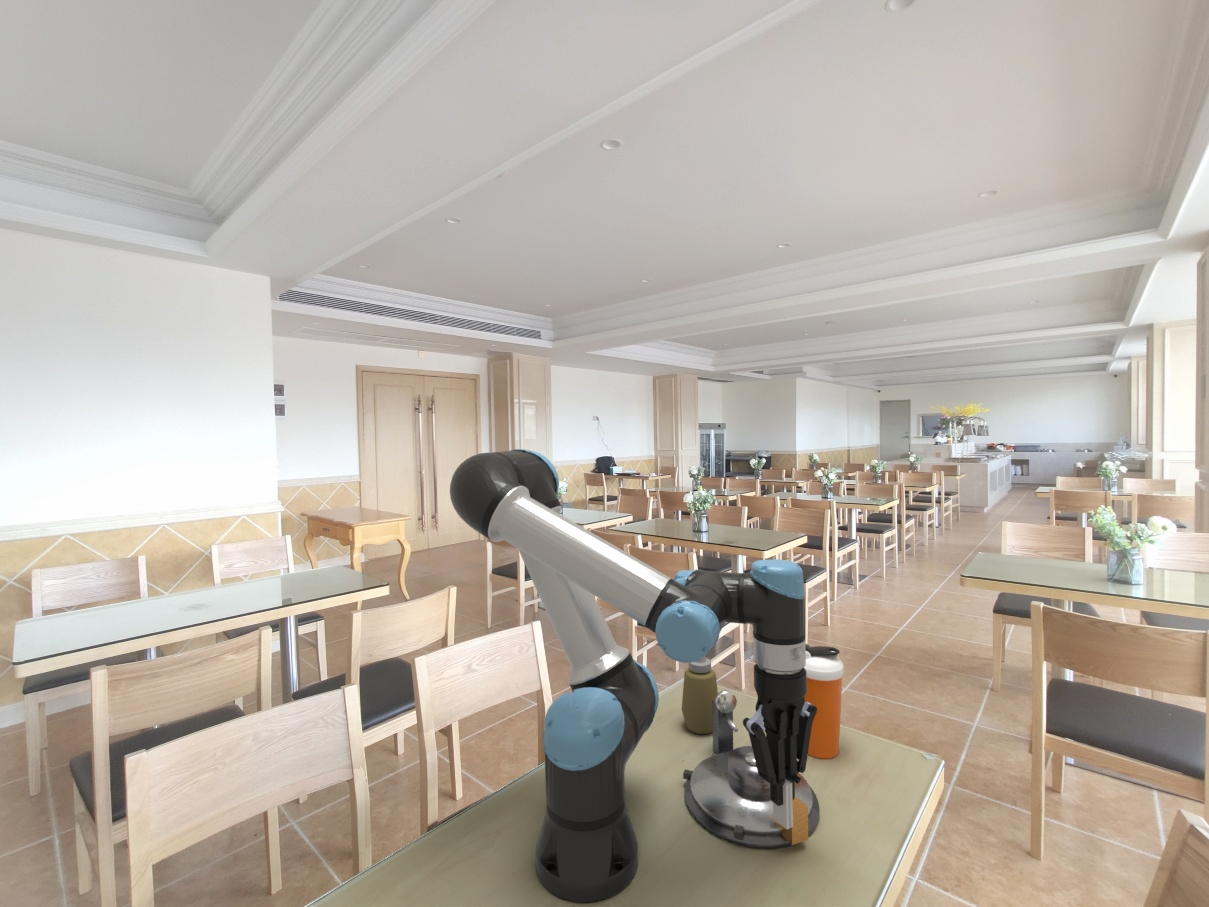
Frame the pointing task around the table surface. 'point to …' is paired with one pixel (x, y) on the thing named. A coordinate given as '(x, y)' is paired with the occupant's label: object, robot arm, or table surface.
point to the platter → (745, 803)
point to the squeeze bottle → (699, 696)
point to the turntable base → (747, 840)
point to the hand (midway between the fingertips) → (783, 822)
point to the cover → (746, 775)
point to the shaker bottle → (824, 699)
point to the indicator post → (723, 721)
